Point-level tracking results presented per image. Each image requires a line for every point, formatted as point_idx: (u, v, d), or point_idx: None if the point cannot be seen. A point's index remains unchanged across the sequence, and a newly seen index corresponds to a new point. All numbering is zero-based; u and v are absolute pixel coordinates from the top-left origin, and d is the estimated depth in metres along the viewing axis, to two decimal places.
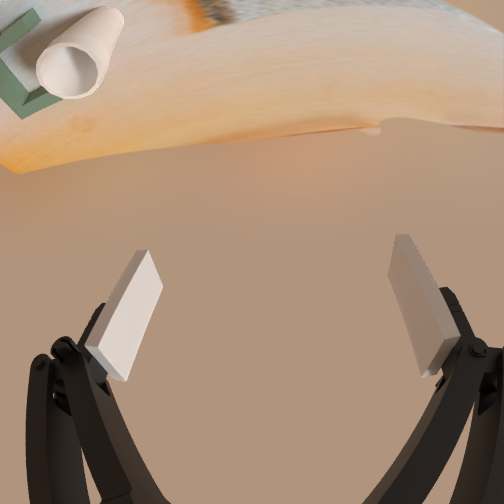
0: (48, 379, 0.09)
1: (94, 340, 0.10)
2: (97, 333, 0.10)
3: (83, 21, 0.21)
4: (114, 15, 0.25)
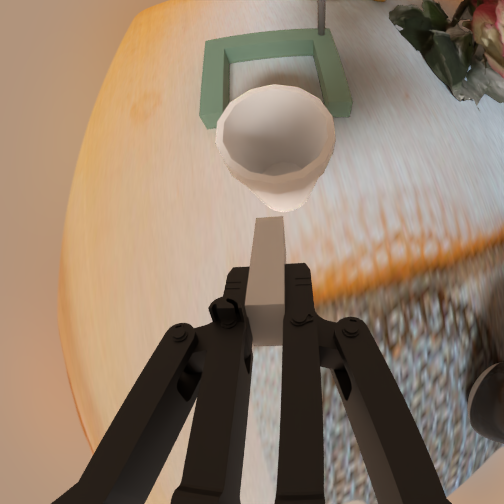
0: (182, 359, 0.09)
1: (256, 298, 0.11)
2: (256, 292, 0.11)
3: None
4: (297, 205, 0.31)
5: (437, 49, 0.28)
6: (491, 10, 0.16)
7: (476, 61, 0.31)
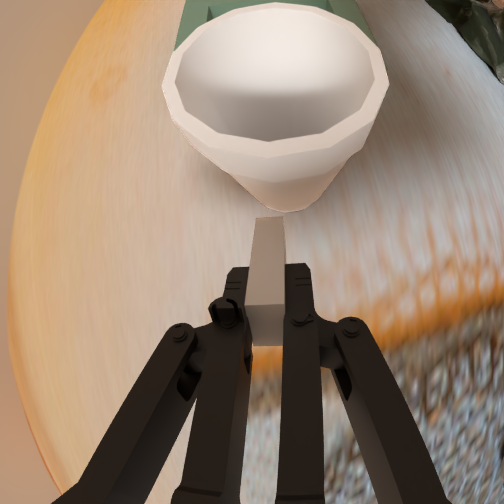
0: (182, 359, 0.09)
1: (256, 298, 0.11)
2: (256, 292, 0.11)
3: None
4: (305, 204, 0.20)
5: (477, 21, 0.17)
6: None
7: None
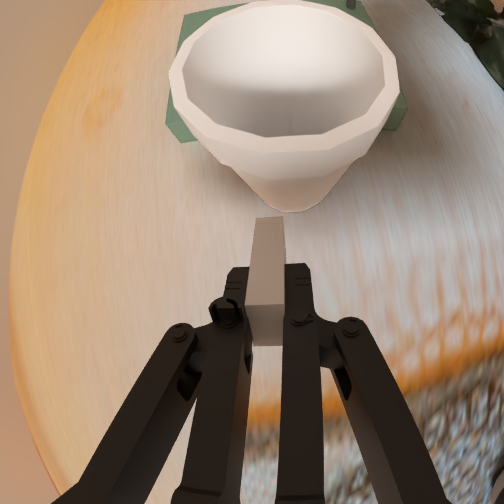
0: (182, 359, 0.09)
1: (256, 298, 0.11)
2: (256, 292, 0.11)
3: None
4: (305, 206, 0.19)
5: (497, 44, 0.16)
6: None
7: None
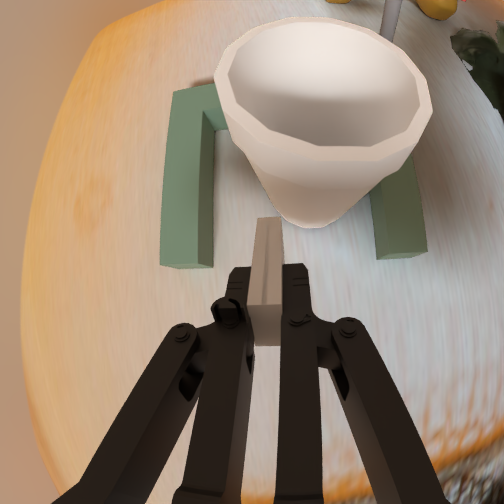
0: (184, 360, 0.09)
1: (258, 298, 0.11)
2: (258, 291, 0.11)
3: (363, 195, 0.15)
4: (304, 222, 0.20)
5: None
6: None
7: None
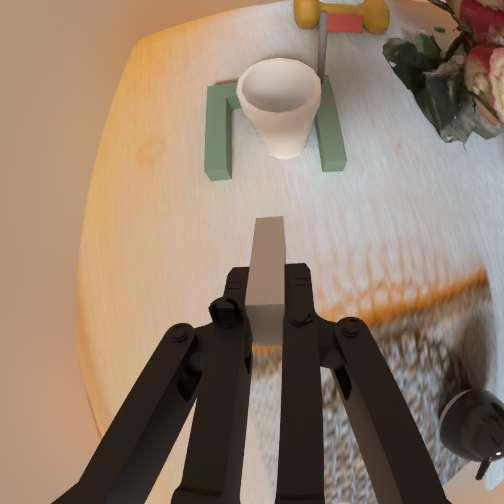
0: (182, 359, 0.09)
1: (256, 298, 0.11)
2: (256, 292, 0.11)
3: (305, 133, 0.33)
4: (283, 153, 0.38)
5: (428, 92, 0.34)
6: (485, 55, 0.21)
7: (466, 95, 0.37)
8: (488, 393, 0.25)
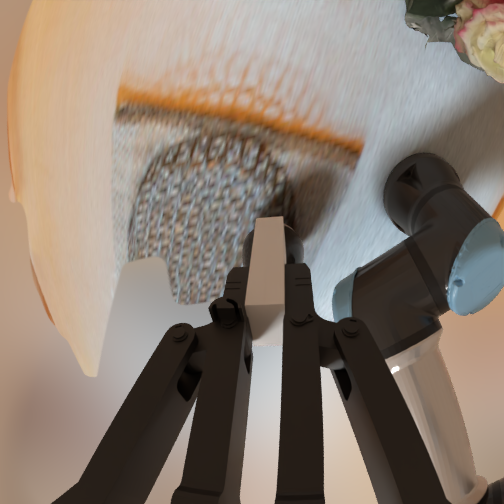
0: (182, 359, 0.09)
1: (256, 298, 0.11)
2: (256, 292, 0.11)
3: None
4: None
5: None
6: (500, 2, 0.11)
7: None
8: (295, 240, 0.45)
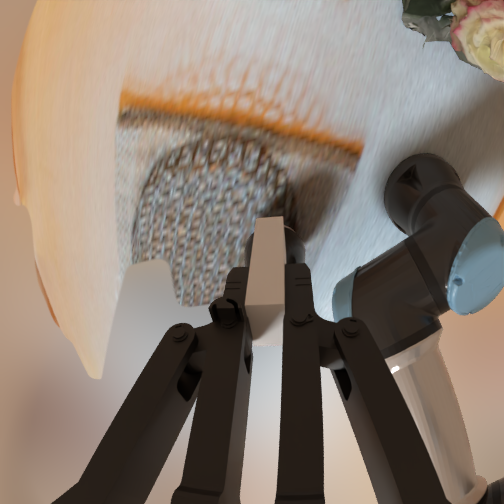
0: (182, 359, 0.09)
1: (256, 298, 0.11)
2: (256, 292, 0.11)
3: None
4: None
5: None
6: None
7: None
8: (296, 242, 0.45)
